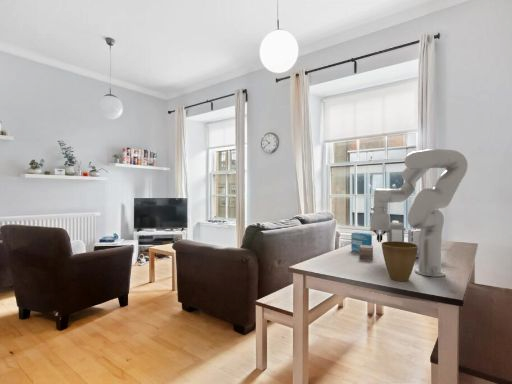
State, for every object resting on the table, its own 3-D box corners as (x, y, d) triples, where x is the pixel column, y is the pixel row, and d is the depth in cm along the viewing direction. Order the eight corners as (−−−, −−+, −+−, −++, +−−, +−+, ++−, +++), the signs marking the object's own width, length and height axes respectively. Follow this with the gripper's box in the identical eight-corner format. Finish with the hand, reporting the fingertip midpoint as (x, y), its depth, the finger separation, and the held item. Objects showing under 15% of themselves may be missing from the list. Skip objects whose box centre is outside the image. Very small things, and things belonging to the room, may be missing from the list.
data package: (351, 250, 196) (351, 232, 196) (354, 249, 199) (355, 231, 199) (368, 253, 187) (368, 234, 187) (371, 252, 190) (372, 234, 190)
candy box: (431, 256, 179) (431, 229, 178) (436, 259, 173) (436, 231, 173) (407, 256, 180) (407, 229, 180) (411, 258, 174) (411, 230, 174)
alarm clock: (404, 255, 182) (404, 222, 182) (389, 254, 185) (389, 222, 185) (400, 249, 199) (400, 219, 199) (386, 248, 202) (386, 219, 202)
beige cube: (372, 260, 170) (372, 248, 170) (359, 259, 173) (359, 247, 173) (372, 257, 177) (372, 245, 176) (360, 256, 179) (360, 244, 179)
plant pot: (383, 272, 146) (383, 240, 145) (418, 277, 138) (418, 243, 138) (378, 280, 133) (379, 245, 133) (416, 286, 125) (416, 248, 125)
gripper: (366, 210, 171) (365, 241, 172) (394, 211, 165) (393, 244, 166) (367, 208, 178) (366, 239, 179) (394, 210, 172) (393, 241, 173)
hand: (379, 241), depth 172 cm, fingers closed
